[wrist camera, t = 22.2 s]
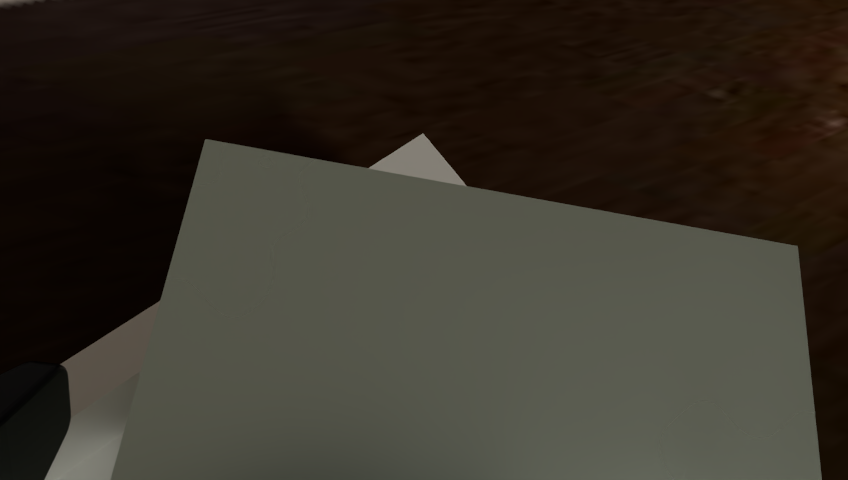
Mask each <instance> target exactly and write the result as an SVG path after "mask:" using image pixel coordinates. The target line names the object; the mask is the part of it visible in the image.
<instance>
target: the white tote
mask: <svg viewBox="0 0 848 480" xmlns="http://www.w3.org/2000/svg"><path fill="white" fill-rule="evenodd" d="M368 169H374V170H379V171H385V172H390V173H396V174H401V175H407V176H413V177H418V178H424V179H429V180H435V181H440V182H446V183H451V184H457V185H462V186H466V185H465V184H464V182H463V181H462V180H461V179H460V177H459V176H458V175H457V174H456V173H455V171H454V170H453V169H452V168H451V167H450V165H449V164H448V163H447V162H446V161H445V159H444V158H443V157H442V156H441V154H440V153H439V152H438V151H437V150H436V148H435V147H434V146H433V145H432V144H431V142H430V141H429V140H428V139H427V138H426V136H425V135H424V134H421V135H420V136H418V137H417V138H415V139H414V140H412V141H410V142H409V143H407V144H406V145H404V146H403V147H401V148H399V149H398V150H396V151H395V152H393V153H392V154H390V155H388V156H387V157H385V158H384V159H382V160H381V161H379V162H377V163H376V164H374V165H373V166H371V167H370V168H368ZM159 304H160V301H159V302H157V303H156V304H154V305H153V306H151V307H150V308H148V309H146V310H145V311H143V312H142V313H140V314H139V315H137V316H135V317H134V318H132V319H131V320H129V321H128V322H126V323H124V324H123V325H121V326H120V327H118V328H117V329H115V330H113V331H112V332H110V333H109V334H107V335H106V336H104V337H102V338H101V339H99V340H98V341H96V342H95V343H93V344H91V345H90V346H88V347H87V348H85V349H84V350H82V351H80V352H79V353H77V354H76V355H74V356H73V357H71V358H69V359H68V360H66V361H65V362H63V363H62V364H60V365H62V366H64V367H65V368H66V370H67V372H68V379H69V392H70V406H71V421H70V425H69V429H68V432H67V434H66V436H65V438H64V440H63V442H62V445H61V447H60V449H59V451H58V453H57V455H56V457H55V459H54V461H53V463H52V465H51V467H50V469H49V471H48V474H47V476H46V478H45V480H111V476H112V472H113V469H114V465H115V462H116V458H117V454H118V451H119V447H120V444H121V440H122V437H123V433H124V429H125V426H126V422H127V419H128V415H129V411H130V408H131V404H132V401H133V397H134V393H135V390H136V386H137V383H138V379H139V375H140V372H141V368H142V365H143V361H144V358H145V354H146V350H147V347H148V343H149V340H150V336H151V332H152V329H153V325H154V322H155V318H156V314H157V311H158V307H159Z"/></svg>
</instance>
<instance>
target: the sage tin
mask: <svg viewBox="0 0 848 480" xmlns="http://www.w3.org/2000/svg"><path fill="white" fill-rule="evenodd" d="M111 480H822V477H821V468H820V458H819V448H818V439H817V429H816V419H815V410H814V400H813V390H812V381H811V371H810V361H809V352H808V342H807V332H806V323H805V313H804V303H803V294H802V284H801V274H800V265H799V255H798V246H794V245H788V244H783V243H777V242H772V241H766V240H761V239H755V238H749V237H744V236H738V235H733V234H727V233H722V232H716V231H711V230H705V229H700V228H694V227H689V226H683V225H678V224H672V223H667V222H661V221H656V220H650V219H645V218H639V217H633V216H628V215H622V214H617V213H611V212H606V211H600V210H595V209H589V208H584V207H578V206H573V205H567V204H562V203H556V202H551V201H545V200H540V199H534V198H529V197H523V196H517V195H512V194H506V193H501V192H495V191H490V190H484V189H479V188H473V187H468V186H462V185H457V184H451V183H446V182H440V181H435V180H429V179H424V178H418V177H413V176H407V175H401V174H396V173H390V172H385V171H379V170H374V169H368V168H363V167H357V166H352V165H346V164H341V163H335V162H330V161H324V160H319V159H313V158H308V157H302V156H296V155H291V154H285V153H280V152H274V151H269V150H263V149H258V148H252V147H247V146H241V145H236V144H230V143H225V142H219V141H214V140H208V139H205V142H204V146H203V149H202V153H201V156H200V160H199V164H198V167H197V171H196V174H195V178H194V182H193V185H192V189H191V192H190V196H189V200H188V203H187V207H186V210H185V214H184V218H183V221H182V225H181V228H180V232H179V235H178V239H177V243H176V246H175V250H174V253H173V257H172V261H171V264H170V268H169V271H168V275H167V279H166V282H165V286H164V289H163V293H162V296H161V300H160V304H159V307H158V311H157V314H156V318H155V322H154V325H153V329H152V332H151V336H150V340H149V343H148V347H147V350H146V354H145V358H144V361H143V365H142V368H141V372H140V375H139V379H138V383H137V386H136V390H135V393H134V397H133V401H132V404H131V408H130V411H129V415H128V419H127V422H126V426H125V429H124V433H123V437H122V440H121V444H120V447H119V451H118V454H117V458H116V462H115V465H114V469H113V472H112V476H111Z"/></svg>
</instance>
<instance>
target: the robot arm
mask: <svg viewBox="0 0 848 480" xmlns="http://www.w3.org/2000/svg"><path fill="white" fill-rule="evenodd" d="M70 421H71V406H70V392H69V379H68V372H67V370H66V368H65V367H64V366H62V365H60V364H54V363H46V362H38V361H30V362H26V363H24V364H21V365H19V366H17V367H15V368H13V369H11V370H9V371H7V372H5V373H3V374H1V375H0V480H45V478H46V476H47V474H48V471H49V469H50V467H51V465H52V463H53V461H54V459H55V457H56V455H57V453H58V451H59V449H60V447H61V445H62V442H63V440H64V438H65V436H66V434H67V432H68V429H69V425H70Z"/></svg>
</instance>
